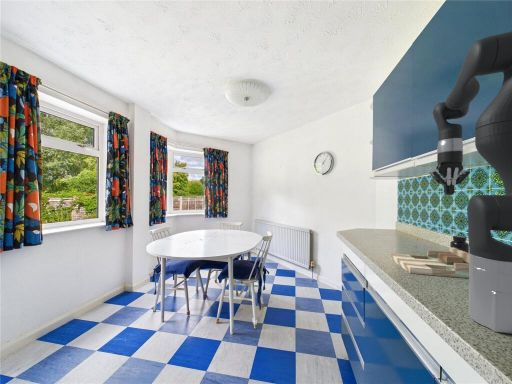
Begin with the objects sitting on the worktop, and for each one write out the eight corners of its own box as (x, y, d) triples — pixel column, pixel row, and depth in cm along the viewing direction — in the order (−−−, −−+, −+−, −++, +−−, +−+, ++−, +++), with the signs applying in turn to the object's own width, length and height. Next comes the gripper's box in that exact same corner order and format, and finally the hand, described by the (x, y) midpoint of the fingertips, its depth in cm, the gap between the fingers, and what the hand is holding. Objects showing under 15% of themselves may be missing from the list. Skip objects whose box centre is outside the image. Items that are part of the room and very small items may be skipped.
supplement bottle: (473, 262, 103) (473, 238, 103) (458, 262, 103) (459, 237, 103) (459, 258, 110) (460, 235, 110) (446, 258, 110) (446, 234, 110)
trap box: (488, 280, 82) (488, 260, 82) (409, 273, 88) (410, 255, 88) (453, 263, 102) (453, 247, 102) (390, 258, 108) (391, 243, 108)
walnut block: (463, 265, 91) (463, 257, 91) (446, 264, 92) (446, 256, 92) (453, 261, 96) (453, 253, 96) (438, 260, 98) (438, 252, 98)
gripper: (436, 150, 82) (435, 194, 82) (477, 149, 79) (476, 195, 79) (425, 153, 89) (424, 194, 89) (462, 152, 86) (462, 195, 86)
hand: (449, 194), depth 84 cm, fingers closed
